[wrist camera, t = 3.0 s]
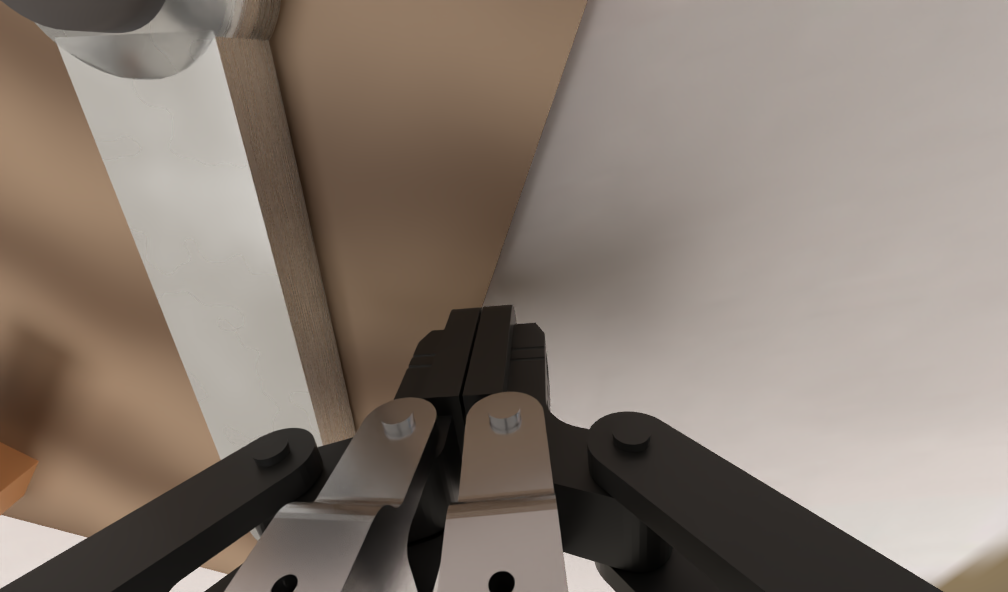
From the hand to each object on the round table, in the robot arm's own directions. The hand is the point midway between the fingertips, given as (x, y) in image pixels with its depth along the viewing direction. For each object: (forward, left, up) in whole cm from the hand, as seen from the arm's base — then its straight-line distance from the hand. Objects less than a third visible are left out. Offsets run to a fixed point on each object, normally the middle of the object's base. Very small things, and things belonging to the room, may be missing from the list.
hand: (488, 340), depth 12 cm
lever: (+1, -6, -2) cm, 7 cm away
